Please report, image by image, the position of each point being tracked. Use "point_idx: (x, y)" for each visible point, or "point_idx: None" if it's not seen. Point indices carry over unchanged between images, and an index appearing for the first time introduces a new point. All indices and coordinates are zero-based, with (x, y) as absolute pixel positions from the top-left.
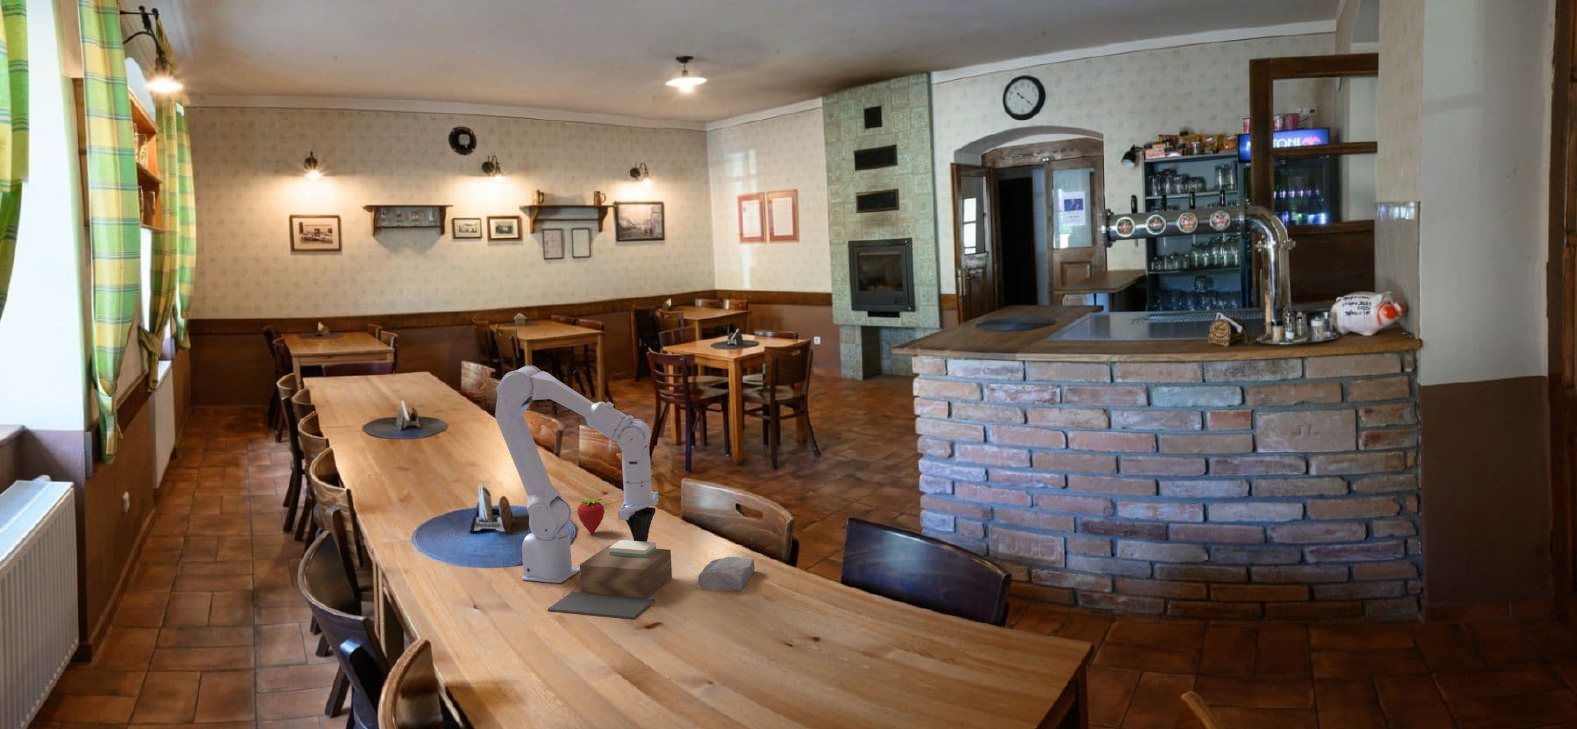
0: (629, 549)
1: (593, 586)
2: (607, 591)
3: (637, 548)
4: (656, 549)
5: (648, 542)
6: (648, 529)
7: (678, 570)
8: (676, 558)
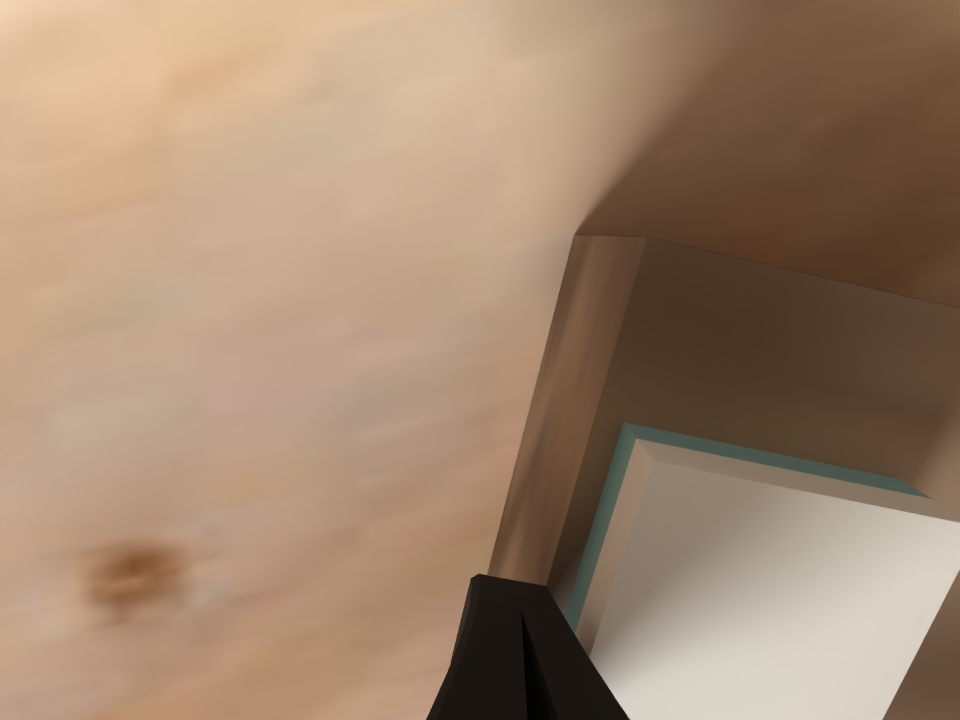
0: (888, 706)
1: None
2: None
3: (880, 629)
4: (625, 418)
5: (650, 555)
6: (488, 703)
7: (407, 220)
8: (139, 296)
